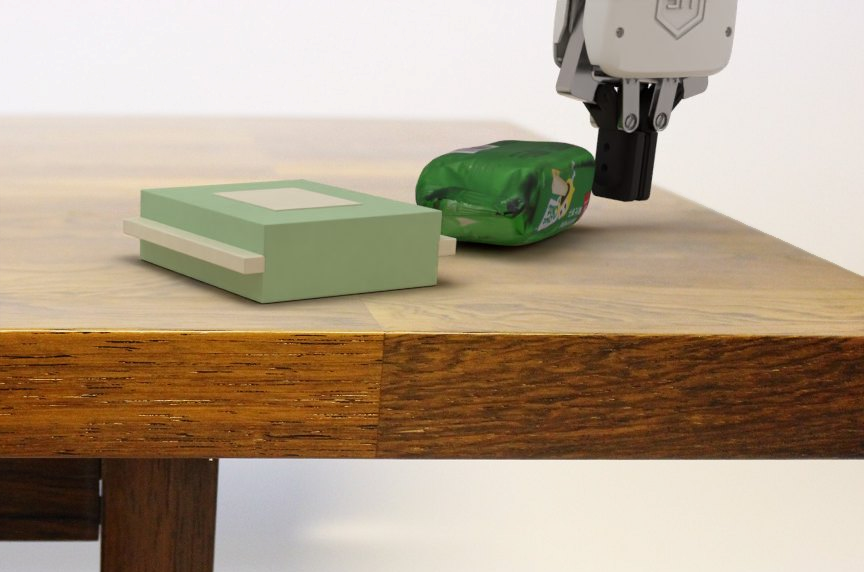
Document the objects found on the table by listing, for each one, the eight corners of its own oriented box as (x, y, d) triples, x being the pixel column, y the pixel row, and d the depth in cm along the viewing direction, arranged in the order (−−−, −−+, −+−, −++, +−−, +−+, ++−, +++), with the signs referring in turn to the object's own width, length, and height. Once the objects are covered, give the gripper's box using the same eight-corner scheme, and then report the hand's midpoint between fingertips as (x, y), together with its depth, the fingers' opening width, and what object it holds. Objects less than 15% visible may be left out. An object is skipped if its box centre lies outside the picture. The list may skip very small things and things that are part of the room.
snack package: (389, 252, 80) (396, 154, 78) (491, 214, 93) (499, 128, 91) (516, 268, 77) (527, 166, 75) (604, 226, 89) (615, 137, 87)
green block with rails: (314, 243, 82) (318, 176, 81) (453, 283, 72) (459, 207, 71) (122, 260, 77) (122, 189, 76) (242, 305, 67) (245, 224, 66)
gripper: (607, -145, 76) (567, 215, 82) (810, -132, 82) (759, 200, 88) (510, -138, 82) (479, 196, 88) (706, -127, 89) (665, 183, 95)
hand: (619, 197), depth 88 cm, fingers closed
